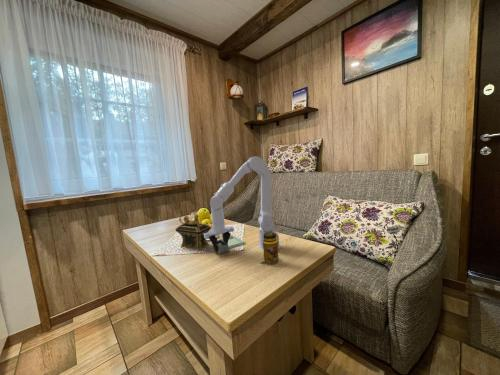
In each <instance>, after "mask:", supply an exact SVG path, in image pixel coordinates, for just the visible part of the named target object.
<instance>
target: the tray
mask: <svg viewBox="0 0 500 375" xmlns="http://www.w3.org/2000/svg"><path fill="white" fill-rule="evenodd" d="M218 240H222V241H223V237H221V238H217V241H218ZM245 244H246V241H244V240H243V239H241V238H239V237H238V236H235V235H234V234H232V235H231V236H230V238H229V240H228V249H232V248H236V247H238V246H242V245H245Z"/></svg>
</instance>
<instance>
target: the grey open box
mask: <svg viewBox="0 0 500 375" xmlns="http://www.w3.org/2000/svg"><path fill="white" fill-rule="evenodd" d="M220 243H221V244H222V246H219V245H218V244H220ZM212 247H213V246H212ZM212 250H213V251H215V250H214V247H213V249H212ZM216 252H217V253H218V254H219V255H222V254H225V253H229V249H228V244H227V243H225V242H224V241H222V240H218V241H217V251H216Z"/></svg>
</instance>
